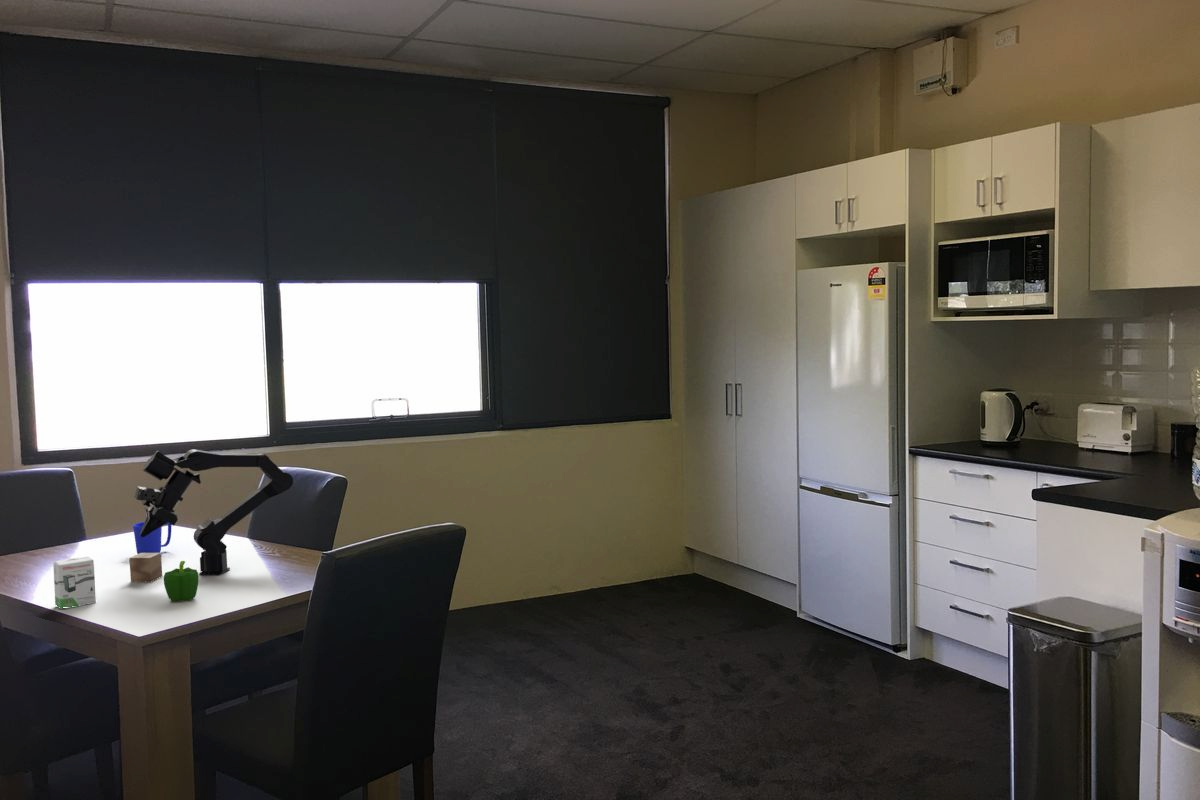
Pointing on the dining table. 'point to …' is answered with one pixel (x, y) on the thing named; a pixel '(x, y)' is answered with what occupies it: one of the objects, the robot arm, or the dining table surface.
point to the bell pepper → (181, 583)
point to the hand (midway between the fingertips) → (141, 536)
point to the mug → (150, 539)
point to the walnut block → (145, 567)
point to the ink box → (74, 582)
